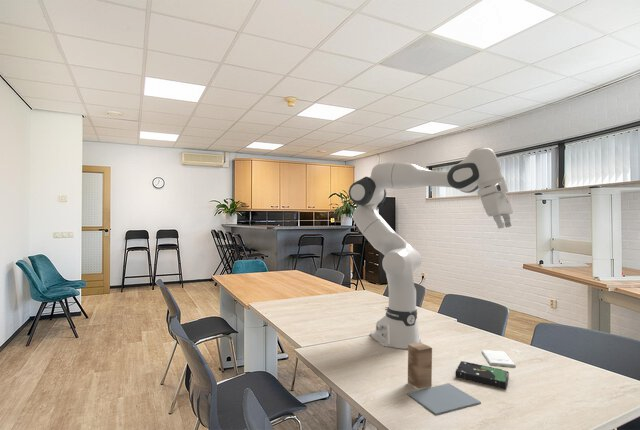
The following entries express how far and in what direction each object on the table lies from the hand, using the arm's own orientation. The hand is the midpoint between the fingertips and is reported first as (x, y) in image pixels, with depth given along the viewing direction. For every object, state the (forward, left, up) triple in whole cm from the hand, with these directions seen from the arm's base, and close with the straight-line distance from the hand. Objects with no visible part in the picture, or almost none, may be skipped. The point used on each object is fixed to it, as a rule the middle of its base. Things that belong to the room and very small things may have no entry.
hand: (505, 227), depth 126 cm
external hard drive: (-5, +3, -49) cm, 50 cm away
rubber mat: (+10, -37, -49) cm, 62 cm away
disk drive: (+4, -15, -49) cm, 52 cm away
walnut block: (+1, -38, -49) cm, 62 cm away
